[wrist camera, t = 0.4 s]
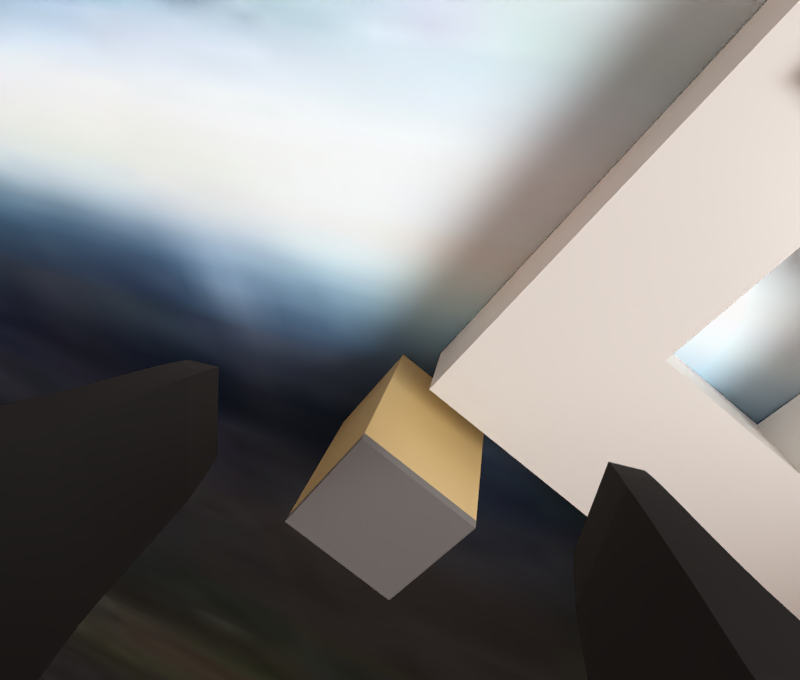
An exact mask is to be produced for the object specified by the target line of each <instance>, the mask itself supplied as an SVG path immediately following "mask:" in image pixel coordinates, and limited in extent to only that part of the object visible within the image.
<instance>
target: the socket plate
mask: <svg viewBox="0 0 800 680" xmlns="http://www.w3.org/2000/svg"><path fill="white" fill-rule="evenodd" d="M798 248H800V0H768V1H767V2H766V3H765V4H764V5H763V6H762V7H761V8H760V9H759V10H758V11H757V12H756V13H755V15H754V16H753V17H752V18H751V19H750V20H749V21H748V22H747V23H746V24H745V25H744V26H743V27H742V29H741V30H740V31H739V32H738V33H737V34H736V35H735V36H734V37H733V38H732V39H731V40H730V42H729V43H728V44H727V45H726V46H725V47H724V48H723V49H722V50H721V51H720V52H719V53H718V54H717V56H716V57H715V58H714V59H713V60H712V61H711V62H710V63H709V64H708V65H707V66H706V67H705V69H704V70H703V71H702V72H701V73H700V74H699V75H698V76H697V77H696V78H695V79H694V80H693V81H692V83H691V84H690V85H689V86H688V87H687V88H686V89H685V90H684V91H683V92H682V93H681V94H680V96H679V97H678V98H677V99H676V100H675V101H674V102H673V103H672V104H671V105H670V106H669V107H668V108H667V110H666V111H665V112H664V113H663V114H662V115H661V116H660V117H659V118H658V119H657V120H656V121H655V123H654V124H653V125H652V126H651V127H650V128H649V129H648V130H647V131H646V132H645V133H644V134H643V135H642V137H641V138H640V139H639V140H638V141H637V142H636V143H635V144H634V145H633V146H632V147H631V148H630V149H629V151H628V152H627V153H626V154H625V155H624V156H623V157H622V158H621V159H620V160H619V161H618V162H617V164H616V165H615V166H614V167H613V168H612V169H611V170H610V171H609V172H608V173H607V174H606V175H605V176H604V178H603V179H602V180H601V181H600V182H599V183H598V184H597V185H596V186H595V187H594V188H593V189H592V191H591V192H590V193H589V194H588V195H587V196H586V197H585V198H584V199H583V200H582V201H581V202H580V203H579V205H578V206H577V207H576V208H575V209H574V210H573V211H572V212H571V213H570V214H569V215H568V216H567V218H566V219H565V220H564V221H563V222H562V223H561V224H560V225H559V226H558V227H557V228H556V229H555V230H554V232H553V233H552V234H551V235H550V236H549V237H548V238H547V239H546V240H545V241H544V242H543V243H542V245H541V246H540V247H539V248H538V249H537V250H536V251H535V252H534V253H533V254H532V255H531V256H530V257H529V259H528V260H527V261H526V262H525V263H524V264H523V265H522V266H521V267H520V268H519V269H518V270H517V271H516V273H515V274H514V275H513V276H512V277H511V278H510V279H509V280H508V281H507V282H506V283H505V284H504V286H503V287H502V288H501V289H500V290H499V291H498V292H497V293H496V294H495V295H494V296H493V297H492V298H491V300H490V301H489V302H488V303H487V304H486V305H485V306H484V307H483V308H482V309H481V310H480V311H479V313H478V314H477V315H476V316H475V317H474V318H473V319H472V320H471V321H470V322H469V323H468V324H467V325H466V327H465V328H464V329H463V330H462V331H461V332H460V333H459V334H458V335H457V336H456V337H455V338H454V340H453V341H452V342H451V343H450V344H449V345H448V346H447V347H446V348H445V349H444V350H443V351H442V352H441V354H440V357H439V360H438V363H437V366H436V370H435V373H434V376H433V379H432V382H431V385H430V388H429V390H431V391H432V392H433V393H434V394H436V395H437V396H438V397H439V398H440V399H442V400H443V401H444V402H445V403H447V404H448V405H449V406H450V407H452V408H453V409H454V410H455V411H457V412H458V413H459V414H460V415H462V416H463V417H464V418H465V419H467V420H468V421H469V422H470V423H472V424H473V425H474V426H475V427H477V428H478V429H479V430H480V431H482V432H483V433H484V434H485V435H486V436H488V437H489V438H490V439H491V440H493V441H494V442H495V443H496V444H498V445H499V446H500V447H501V448H503V449H504V450H505V451H506V452H508V453H509V454H510V455H511V456H513V457H514V458H515V459H516V460H518V461H519V462H520V463H521V464H523V465H524V466H525V467H526V468H528V469H529V470H530V471H531V472H533V473H534V474H535V475H536V476H537V477H539V478H540V479H541V480H542V481H544V482H545V483H546V484H547V485H549V486H550V487H551V488H552V489H554V490H555V491H556V492H557V493H559V494H560V495H561V496H562V497H564V498H565V499H566V500H567V501H569V502H570V503H571V504H572V505H574V506H575V507H576V508H577V509H579V510H580V511H581V512H582V513H583V514H585V515H586V516H588V514H589V511H590V509H591V506H592V503H593V501H594V498H595V495H596V493H597V490H598V488H599V485H600V482H601V480H602V477H603V475H604V472H605V469H606V467H607V464H608V462H612V463H616V464H620V465H624V466H628V467H632V468H636V469H641V470H645V471H646V472H647V473H649V474H650V475H651V476H652V477H653V478H654V479H655V480H656V481H657V482H659V483H660V484H661V485H662V486H663V487H664V488H665V489H666V490H667V491H668V492H669V493H670V494H671V495H672V496H673V497H674V498H675V499H676V500H677V501H678V502H679V503H680V504H681V505H682V506H683V507H684V508H685V509H686V510H687V511H688V512H689V513H690V514H691V516H692V517H693V518H694V519H695V520H696V521H697V522H698V523H699V524H700V525H701V526H702V527H703V528H704V529H705V530H706V531H707V532H708V533H709V534H710V535H711V536H712V537H713V538H714V539H715V540H716V541H717V542H718V543H719V544H720V545H721V546H722V547H723V548H724V549H725V550H726V551H727V552H728V553H729V554H730V555H731V556H732V557H733V558H734V559H735V560H736V561H737V562H738V563H739V564H740V565H741V566H742V567H743V568H744V569H745V570H746V571H747V572H749V573H750V574H751V575H752V576H753V577H754V578H755V579H756V580H757V581H758V582H759V583H760V584H761V585H762V586H763V587H764V588H765V589H766V590H767V591H768V592H769V593H771V594H772V595H773V596H774V597H775V598H776V599H777V600H778V601H779V602H780V603H782V604H783V605H784V606H785V607H786V608H787V609H788V610H789V611H790V612H791V613H792V614H794V615H795V616H796V617H797V618H798V619H799V620H800V394H799V395H798V396H796V397H795V398H794V399H792V400H791V401H789V402H788V403H787V404H785V405H784V406H782V407H781V408H780V409H778V410H777V411H776V412H774V413H773V414H771V415H770V416H769V417H767V418H766V419H764V420H763V421H762V422H760V423H759V424H756V423H754V422H753V421H752V420H751V419H750V418H749V417H747V416H746V415H745V414H744V413H743V412H742V411H740V410H739V409H738V408H737V407H736V406H735V405H733V404H732V403H731V402H730V401H729V400H727V399H726V398H725V397H724V396H723V395H722V394H720V393H719V392H718V391H717V390H716V389H715V388H713V387H712V386H711V385H710V384H709V383H708V382H706V381H705V380H704V379H703V378H702V377H701V376H699V375H698V374H697V373H696V372H695V371H693V370H692V369H691V368H690V367H689V366H688V365H686V364H685V363H684V362H683V361H682V360H681V359H679V358H678V357H677V356H676V355H675V354H674V353H675V352H676V351H677V350H678V349H680V348H681V347H682V346H683V345H684V344H686V343H687V342H688V341H689V340H690V339H691V338H693V337H694V336H695V335H696V334H697V333H699V332H700V331H701V330H702V329H703V328H705V327H706V326H707V325H708V324H709V323H710V322H712V321H713V320H714V319H715V318H716V317H718V316H719V315H720V314H721V313H722V312H724V311H725V310H726V309H727V308H728V307H729V306H731V305H732V304H733V303H734V302H735V301H737V300H738V299H739V298H740V297H741V296H743V295H744V294H745V293H746V292H747V291H748V290H750V289H751V288H752V287H753V286H754V285H756V284H757V283H758V282H759V281H760V280H762V279H763V278H764V277H765V276H766V275H767V274H769V273H770V272H771V271H772V270H773V269H775V268H776V267H777V266H778V265H779V264H781V263H782V262H783V261H784V260H785V259H786V258H788V257H789V256H790V255H791V254H792V253H794V252H795V251H796V250H797V249H798Z"/></svg>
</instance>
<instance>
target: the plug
mask: <svg viewBox="0 0 800 680" xmlns="http://www.w3.org/2000/svg"><path fill="white" fill-rule="evenodd" d="M432 379H433V378H432V377H431V376H430V375H428V374H427V373H426V372H425V371H423V370H422V369H421V368H420V367H418V366H417V365H416V364H415V363H413V362H412V361H411V360H410V359H408V358H407V357H406V356H405V355H404V354H403V355H402V357H401V358H400V359H399V360H398V361H397V362H396V363H395V364H394V366H393V367H392V368H391V369H390V370H389V371H388V372H387V373H386V375H385V376H384V377H383V378H382V379H381V380H380V381H379V383H378V384H377V385H376V386H375V387H374V388H373V389H372V390H371V392H370V393H369V394H368V395H367V396H366V397H365V398H364V399H363V401H362V402H361V403H360V404H359V405H358V406H357V407H356V409H355V410H354V411H353V412H352V413H351V414H350V415H349V416H348V418H347V419H346V420H345V421H344V422H343V424H342V426H341V427H340V429H339V431H338V432H337V434H336V436H335V437H334V439H333V441H332V443H331V444H330V446H329V448H328V449H327V451H326V453H325V455H324V456H323V458H322V460H321V461H320V463H319V465H318V466H317V468H316V470H315V472H314V473H313V475H312V477H311V478H310V480H309V482H308V483H307V485H306V487H305V489H304V490H303V492H302V494H301V495H300V497H299V499H298V500H297V502H296V504H295V506H294V507H293V509H292V511H291V512H290V514H289V516H288V517H287V519H286V521H285V522H286V523H288V524H289V525H290V526H292V527H293V528H294V529H296V530H297V531H298V532H299V533H301V534H302V535H303V536H305V537H306V538H307V539H309V540H310V541H311V542H313V543H314V544H315V545H317V546H318V547H319V548H321V549H322V550H323V551H325V552H326V553H327V554H329V555H330V556H331V557H333V558H334V559H335V560H336V561H338V562H339V563H340V564H342V565H343V566H344V567H346V568H347V569H348V570H350V571H351V572H352V573H354V574H355V575H356V576H358V577H359V578H360V579H362V580H363V581H364V582H366V583H367V584H368V585H370V586H371V587H372V588H373V589H375V590H376V591H377V592H379V593H380V594H381V595H383V596H384V597H385V598H387V599H388V600H390V599H391V598H392V597H394V596H395V595H396V594H397V593H398V592H399V591H401V590H402V589H403V588H404V587H405V586H407V585H408V584H409V583H410V582H411V581H413V580H414V579H415V578H416V577H417V576H419V575H420V574H421V573H422V572H423V571H425V570H426V569H427V568H428V567H429V566H431V565H432V564H433V563H434V562H435V561H437V560H438V559H439V558H440V557H441V556H443V555H444V554H445V553H446V552H447V551H449V550H450V549H451V548H452V547H453V546H455V545H456V544H457V543H458V542H459V541H461V540H462V539H463V538H464V537H465V536H467V535H468V534H469V533H470V532H471V531H473V530H474V529H475V528H476V517H477V505H478V494H479V482H480V470H481V459H482V447H483V435H484V433H483V432H482V431H480V430H479V429H478V428H477V427H475V426H474V425H473V424H472V423H470V422H469V421H468V420H467V419H465V418H464V417H463V416H462V415H460V414H459V413H458V412H457V411H455V410H454V409H453V408H452V407H450V406H449V405H448V404H447V403H445V402H444V401H443V400H442V399H440V398H439V397H438V396H437V395H436V394H434V393H433V392H432V391H431V390H429V388H430V385H431V382H432Z"/></svg>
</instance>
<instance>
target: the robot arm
mask: <svg viewBox="0 0 800 680" xmlns="http://www.w3.org/2000/svg"><path fill="white" fill-rule="evenodd" d="M218 383H219V367H216V366H212V365H208V364H204V363H200V362H196V361H192V360H185V361H179V362H173V363H169V364H164V365H160V366H156V367H152V368H148V369H144V370H140V371H136V372H133V373H129V374H125V375H121V376H118V377H114V378H110V379H107V380H103V381H99V382H95V383H92V384H88V385H84V386H80V387H77V388H73V389H69V390H65V391H61V392H57V393H52V394H48V395H44V396H40V397H36V398H31V399H27V400H23V401H19V402H15V403H11V404H6V405H2V406H0V680H38V679H39V678H40V676H41V675H42V674H43V672H44V671H45V670H46V668H47V667H48V666H49V664H50V663H51V662H52V660H53V659H54V657H55V656H56V655H57V653H58V652H59V651H60V649H61V648H62V647H63V645H64V644H65V643H66V641H67V640H68V639H69V637H70V636H71V635H72V633H73V632H74V630H75V629H76V628H77V627H78V625H79V624H80V623H81V622H82V620H83V619H84V618H85V617H86V616H87V614H88V613H89V612H90V611H91V610H92V608H93V607H94V606H95V605H96V604H97V602H98V601H99V600H100V599H101V598H102V597H103V595H104V594H105V593H106V592H107V591H108V590H109V589H110V588H111V587H112V585H113V584H114V583H115V582H116V581H117V580H118V579H119V578H120V576H121V575H122V574H123V573H124V572H125V571H126V570H127V569H128V567H129V566H130V565H131V564H132V563H133V562H134V561H135V560H136V559H137V557H138V556H139V555H140V554H141V553H142V552H143V551H144V550H145V548H146V547H147V546H148V545H149V544H150V543H151V542H152V541H153V540H154V538H155V537H156V536H157V535H158V534H159V533H160V532H161V530H162V529H163V528H164V527H165V526H166V525H167V524H168V523H169V521H170V520H171V519H172V518H173V517H174V516H175V515H176V513H177V512H178V511H179V510H180V509H181V508H182V506H183V505H184V504H185V503H186V502H187V501H188V499H189V498H190V496H191V495H192V493H193V492H194V491H195V489H196V488H197V486H198V485H199V483H200V482H201V480H202V479H203V477H204V476H205V474H206V473H207V471H208V470H209V468H210V467H211V465H212V463H213V462H214V460H215V459H216V457H217V422H218ZM574 573H575V596H576V610H577V617H578V623H579V629H580V635H581V641H582V647H583V653H584V659H585V665H586V671H587V676H588V680H800V620H799V619H798V618H797V617H796V616H795V615H794V614H792V613H791V612H790V611H789V610H788V609H787V608H786V607H785V606H784V605H783V604H782V603H780V602H779V601H778V600H777V599H776V598H775V597H774V596H773V595H772V594H771V593H769V592H768V591H767V590H766V589H765V588H764V587H763V586H762V585H761V584H760V583H759V582H758V581H757V580H756V579H755V578H754V577H753V576H752V575H751V574H750V573H749V572H747V571H746V570H745V569H744V568H743V567H742V566H741V565H740V564H739V563H738V562H737V561H736V560H735V559H734V558H733V557H732V556H731V555H730V554H729V553H728V552H727V551H726V550H725V549H724V548H723V547H722V546H721V545H720V544H719V543H718V542H717V541H716V540H715V539H714V538H713V537H712V536H711V535H710V534H709V533H708V532H707V531H706V530H705V529H704V528H703V527H702V526H701V525H700V524H699V523H698V522H697V521H696V520H695V519H694V518H693V517H692V516H691V514H690V513H689V512H688V511H687V510H686V509H685V508H684V507H683V506H682V505H681V504H680V503H679V502H678V501H677V500H676V499H675V498H674V497H673V496H672V495H671V494H670V493H669V492H668V491H667V490H666V489H665V488H664V487H663V486H662V485H661V484H660V483H659V482H657V481H656V480H655V479H654V478H653V477H652V476H651V475H650V474H649V473H647V472H646V471H645V470H641V469H636V468H632V467H628V466H624V465H620V464H616V463H612V462H608V464H607V467H606V469H605V472H604V475H603V477H602V480H601V482H600V485H599V488H598V490H597V493H596V495H595V498H594V501H593V503H592V506H591V509H590V511H589V514H588V516H587V519H586V522H585V524H584V527H583V530H582V532H581V535H580V537H579V540H578V543H577V545H576V548H575V550H574Z"/></svg>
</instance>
